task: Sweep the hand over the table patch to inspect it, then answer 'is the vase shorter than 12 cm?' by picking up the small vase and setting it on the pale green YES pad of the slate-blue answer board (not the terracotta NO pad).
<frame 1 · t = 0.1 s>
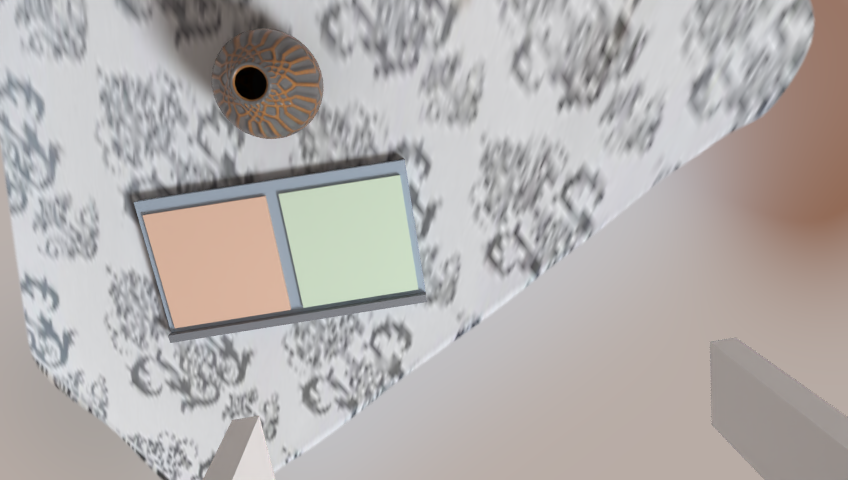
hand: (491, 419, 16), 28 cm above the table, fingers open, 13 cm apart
vase: (280, 86, 40), on the table
answer board: (287, 249, 43), on the table
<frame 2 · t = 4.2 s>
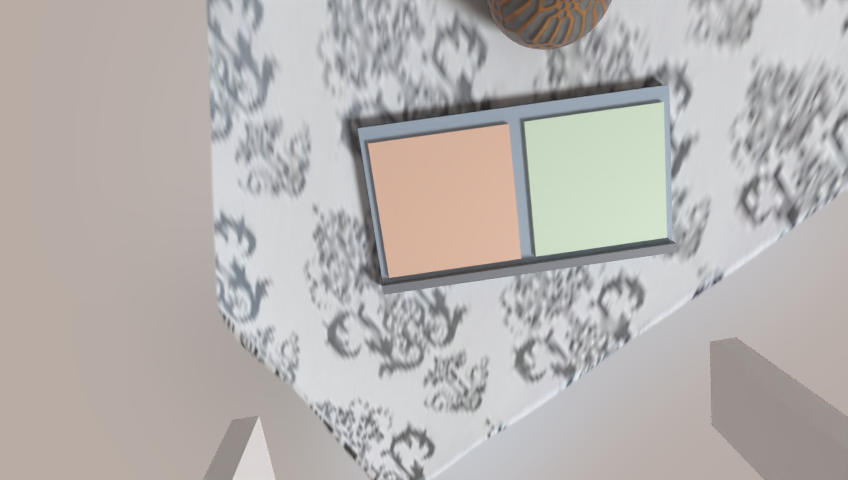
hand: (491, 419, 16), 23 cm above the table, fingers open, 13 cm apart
answer board: (519, 189, 38), on the table
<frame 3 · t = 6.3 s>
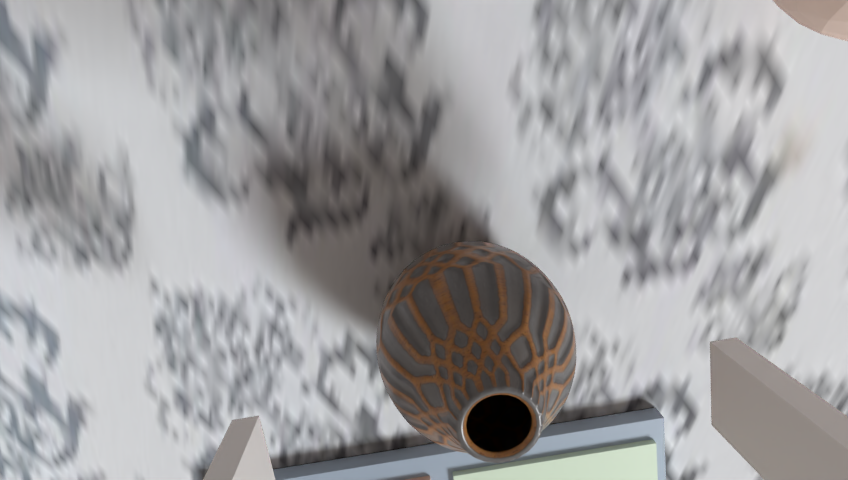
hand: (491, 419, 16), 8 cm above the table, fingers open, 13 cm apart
vase: (461, 301, 24), on the table
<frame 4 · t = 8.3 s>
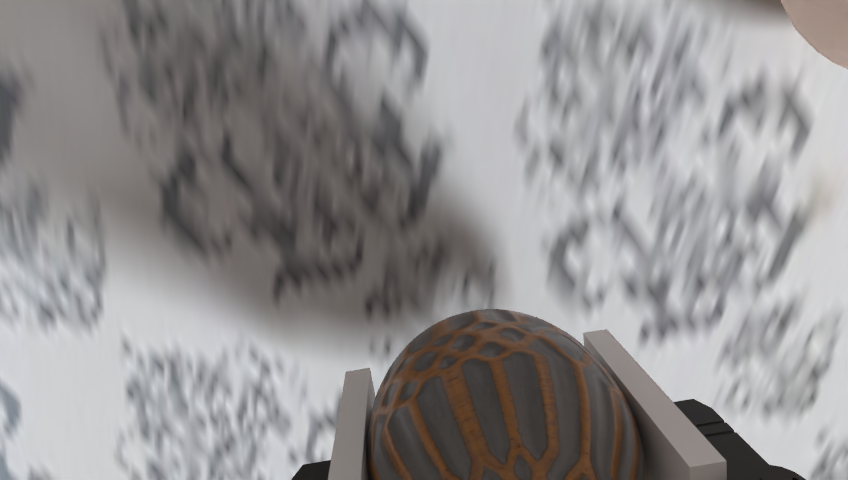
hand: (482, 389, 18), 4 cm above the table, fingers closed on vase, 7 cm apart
vase: (477, 378, 18), point 3 cm above the table, touching gripper
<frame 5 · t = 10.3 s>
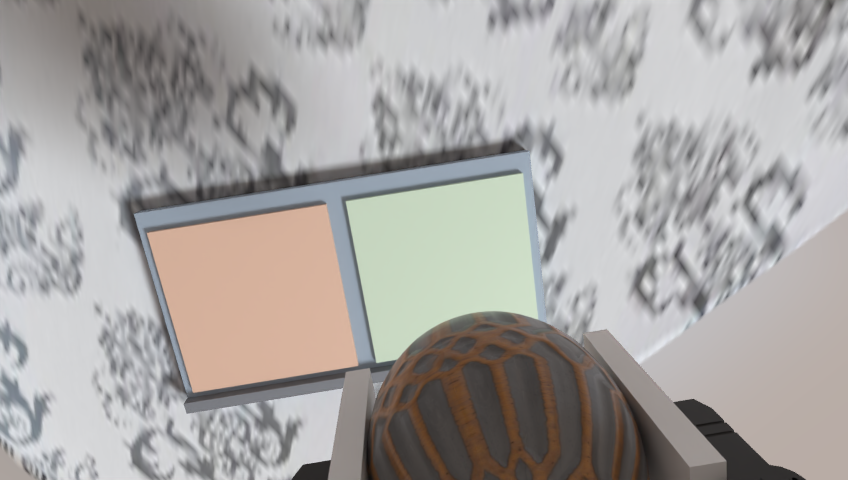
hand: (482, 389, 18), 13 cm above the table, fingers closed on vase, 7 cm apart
vase: (478, 380, 18), point 12 cm above the table, touching gripper
answer board: (353, 280, 30), on the table
when the fingers open (2 cm above the table, at t = 12.5 s): vase stays where it is, resting on answer board.
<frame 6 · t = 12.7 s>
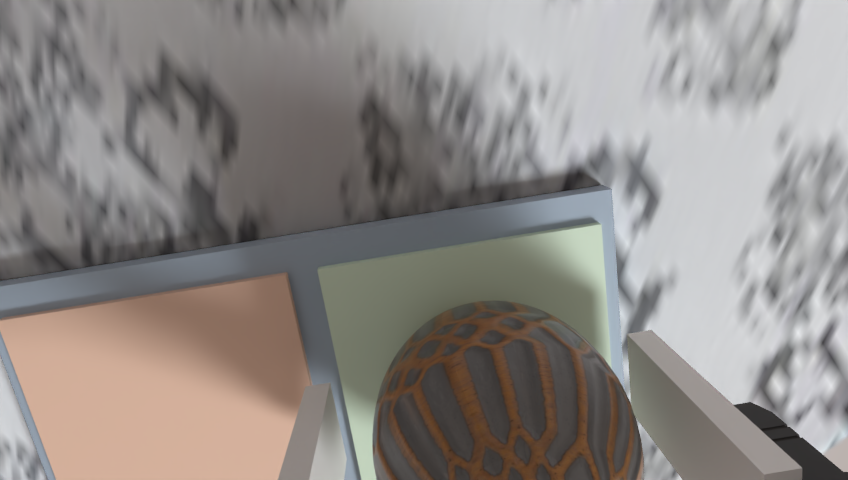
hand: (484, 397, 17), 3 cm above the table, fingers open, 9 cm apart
vase: (479, 368, 19), point 1 cm above the table, touching answer board
answer board: (332, 383, 20), on the table
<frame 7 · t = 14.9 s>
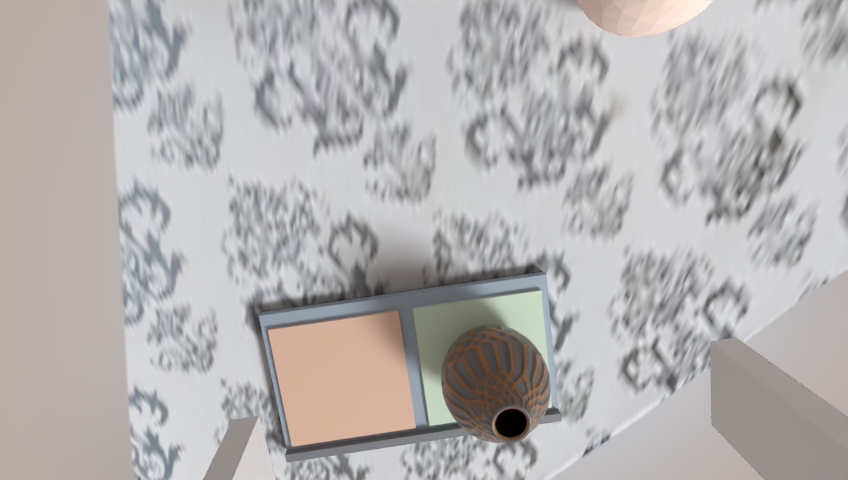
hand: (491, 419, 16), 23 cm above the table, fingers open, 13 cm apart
vase: (485, 356, 40), point 1 cm above the table, touching answer board
answer board: (413, 363, 41), on the table
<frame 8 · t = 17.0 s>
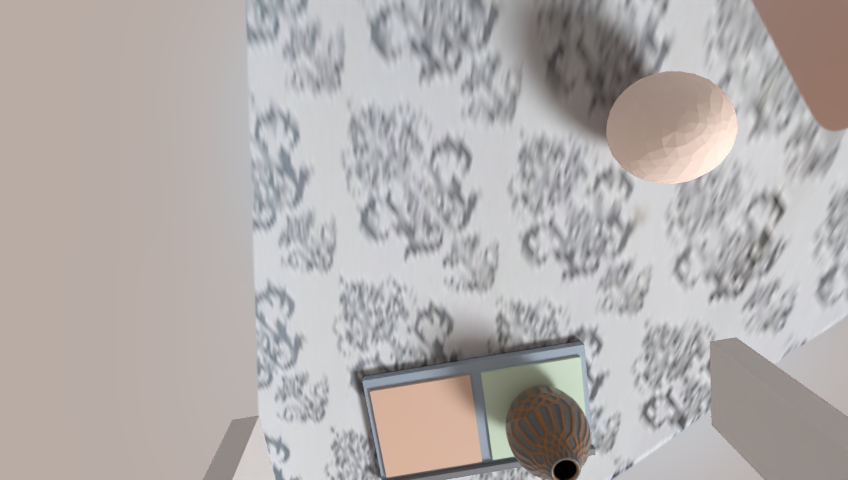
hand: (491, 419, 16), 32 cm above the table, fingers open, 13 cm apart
vase: (536, 407, 51), point 1 cm above the table, touching answer board
answer board: (479, 412, 52), on the table
egg: (634, 124, 46), on the table
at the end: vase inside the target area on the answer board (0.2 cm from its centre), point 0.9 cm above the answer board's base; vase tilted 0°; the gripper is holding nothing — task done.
